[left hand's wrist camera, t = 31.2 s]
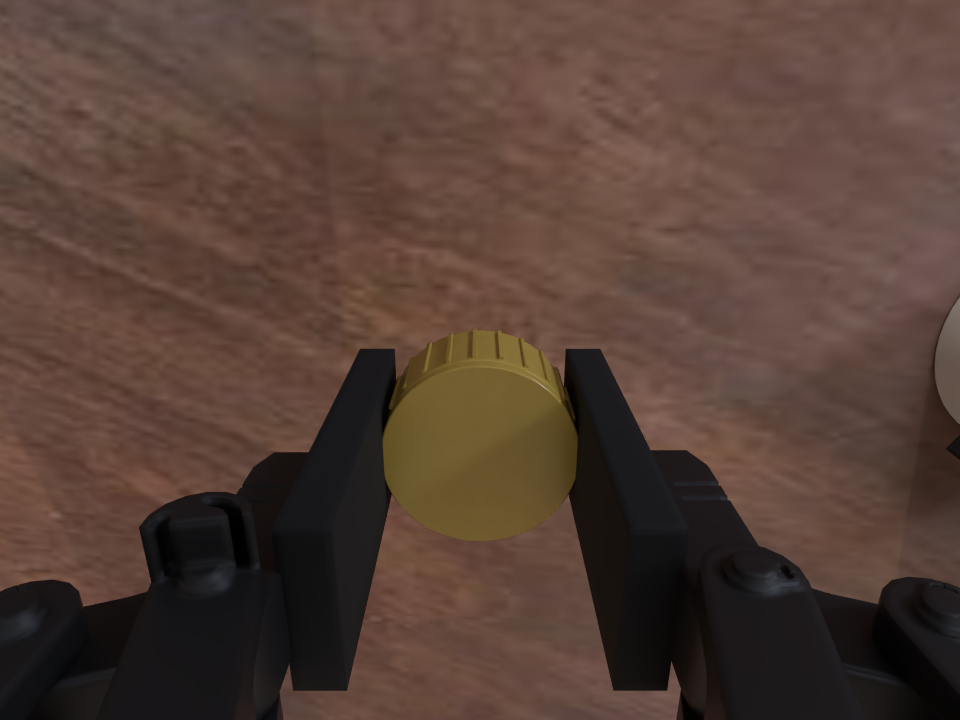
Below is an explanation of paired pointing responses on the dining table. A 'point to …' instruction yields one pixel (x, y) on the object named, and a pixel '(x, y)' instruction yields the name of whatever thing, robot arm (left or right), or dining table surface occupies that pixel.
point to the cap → (480, 437)
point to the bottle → (949, 363)
